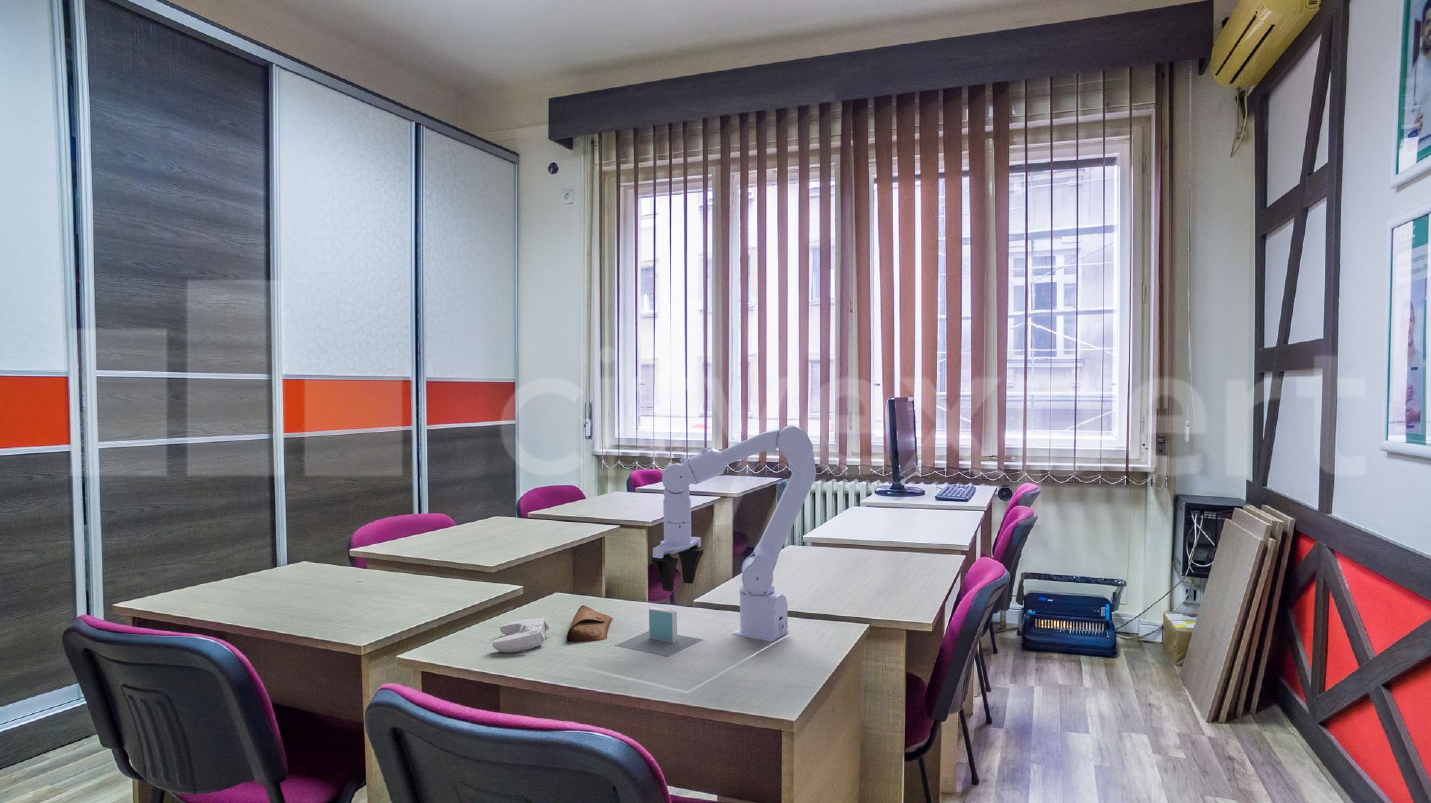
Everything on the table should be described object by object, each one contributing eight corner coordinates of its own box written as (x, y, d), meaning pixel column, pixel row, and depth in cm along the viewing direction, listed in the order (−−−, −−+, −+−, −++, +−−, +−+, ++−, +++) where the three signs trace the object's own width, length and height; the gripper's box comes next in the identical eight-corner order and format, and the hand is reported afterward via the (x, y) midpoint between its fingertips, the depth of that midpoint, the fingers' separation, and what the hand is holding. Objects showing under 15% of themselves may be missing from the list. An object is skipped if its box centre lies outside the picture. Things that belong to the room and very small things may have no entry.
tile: (677, 640, 154) (676, 610, 154) (672, 642, 153) (672, 612, 153) (653, 636, 157) (653, 606, 157) (648, 638, 156) (648, 608, 156)
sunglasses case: (609, 642, 154) (591, 614, 154) (579, 661, 154) (561, 633, 154) (614, 617, 172) (598, 592, 172) (587, 634, 172) (571, 609, 172)
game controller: (500, 619, 162) (547, 607, 163) (505, 639, 162) (552, 627, 163) (488, 640, 148) (540, 627, 149) (493, 662, 148) (545, 649, 149)
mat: (703, 641, 155) (702, 639, 155) (667, 658, 145) (667, 656, 145) (651, 631, 162) (651, 629, 162) (614, 647, 152) (614, 645, 152)
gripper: (681, 515, 168) (682, 577, 168) (640, 524, 156) (641, 591, 156) (708, 517, 164) (709, 581, 164) (668, 527, 152) (669, 596, 152)
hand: (678, 586), depth 160 cm, fingers open, 7 cm apart
